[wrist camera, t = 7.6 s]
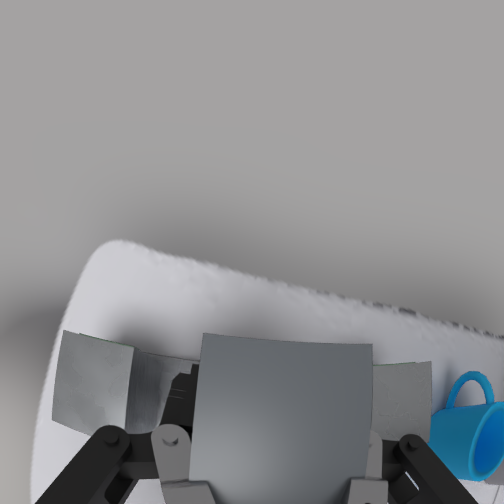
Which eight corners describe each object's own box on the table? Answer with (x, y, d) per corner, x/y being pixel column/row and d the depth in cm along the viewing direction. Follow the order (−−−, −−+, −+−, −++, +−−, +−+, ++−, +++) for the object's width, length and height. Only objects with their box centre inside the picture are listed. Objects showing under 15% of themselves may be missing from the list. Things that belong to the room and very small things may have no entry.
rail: (378, 369, 23) (440, 353, 15) (376, 436, 20) (438, 445, 12) (105, 344, 22) (53, 318, 14) (96, 415, 19) (39, 421, 10)
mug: (458, 463, 18) (506, 466, 10) (409, 480, 17) (460, 493, 10) (466, 373, 23) (516, 359, 16) (421, 379, 23) (475, 367, 16)
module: (292, 367, 16) (372, 337, 8) (285, 458, 13) (357, 519, 5) (212, 360, 16) (204, 325, 7) (203, 454, 13) (186, 525, 4)
